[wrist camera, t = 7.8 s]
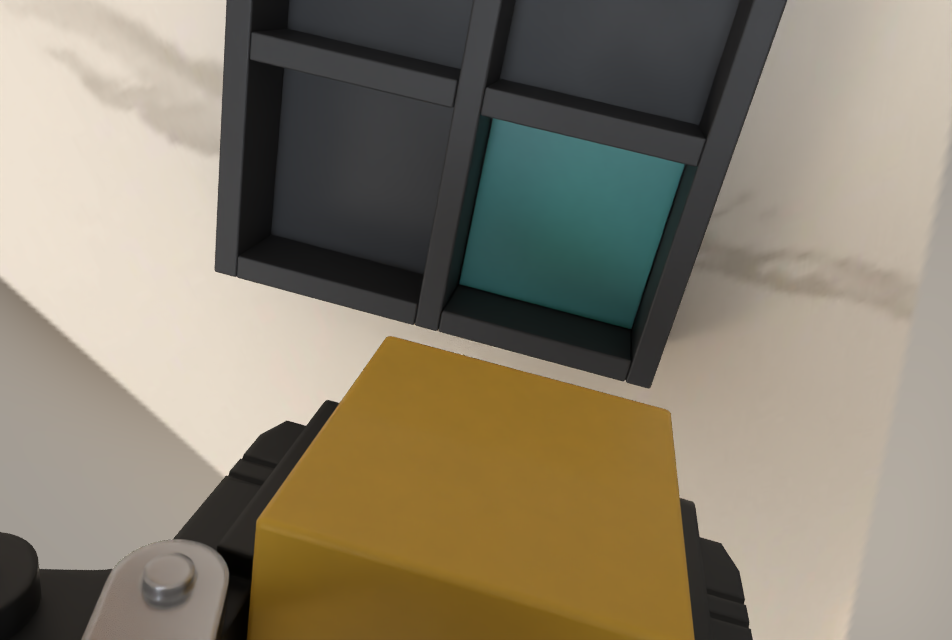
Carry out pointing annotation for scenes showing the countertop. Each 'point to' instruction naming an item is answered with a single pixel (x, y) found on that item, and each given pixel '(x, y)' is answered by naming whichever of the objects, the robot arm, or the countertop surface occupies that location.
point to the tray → (487, 161)
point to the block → (475, 513)
